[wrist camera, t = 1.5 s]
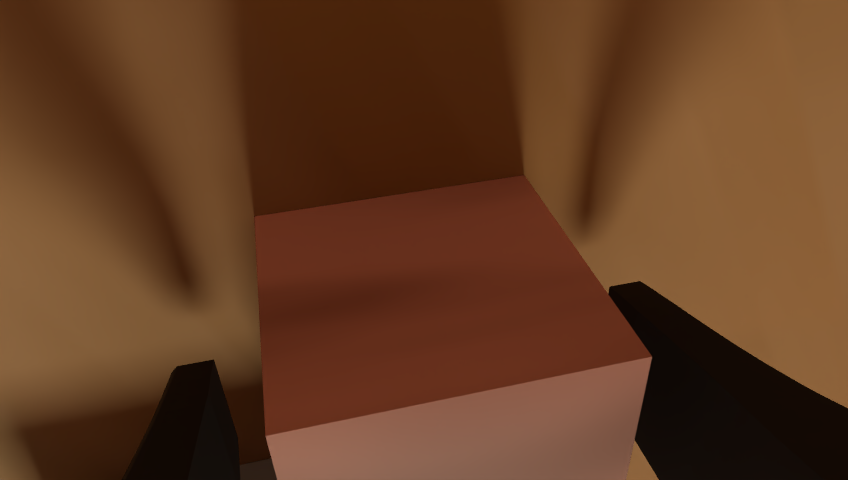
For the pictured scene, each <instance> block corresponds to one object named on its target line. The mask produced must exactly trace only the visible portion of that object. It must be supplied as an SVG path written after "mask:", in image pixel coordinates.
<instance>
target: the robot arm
mask: <svg viewBox="0 0 848 480" xmlns="http://www.w3.org/2000/svg"><path fill="white" fill-rule="evenodd" d="M608 295H609V296H610V298H611V299H612V300H613V302H614V303H615V305H616V306H617V307H618V309H619V310H620V312H621V313H622V315H623V316H624V317H625V319H626V320H627V322H628V323H629V324H630V326H631V327H632V329H633V330H634V332H635V333H636V334H637V336H638V337H639V339H640V340H641V341H642V343H643V344H644V346H645V347H646V349H647V350H648V351H649V353H650V354H651V356H652V360H651V364H650V369H649V374H648V379H647V383H646V388H645V393H644V397H643V402H642V407H641V411H640V416H639V421H638V425H637V430H636V435H635V441H636V443H637V444H638V446H639V448H640V449H641V451H642V453H643V454H644V456H645V457H646V459H647V461H648V462H649V464H650V466H651V467H652V469H653V471H654V472H655V474H656V475H657V477H658V479H659V480H848V408H846V407H844V406H842V405H840V404H838V403H836V402H834V401H832V400H830V399H828V398H826V397H824V396H822V395H820V394H818V393H816V392H815V391H813V390H811V389H809V388H807V387H805V386H804V385H802V384H800V383H798V382H796V381H795V380H793V379H791V378H790V377H788V376H786V375H784V374H783V373H781V372H779V371H778V370H776V369H774V368H772V367H771V366H769V365H767V364H766V363H764V362H762V361H761V360H759V359H757V358H756V357H754V356H753V355H751V354H749V353H748V352H746V351H745V350H743V349H741V348H740V347H738V346H737V345H735V344H734V343H732V342H730V341H729V340H727V339H726V338H724V337H723V336H721V335H720V334H718V333H717V332H715V331H714V330H712V329H711V328H709V327H708V326H706V325H705V324H703V323H702V322H700V321H699V320H697V319H696V318H694V317H693V316H691V315H690V314H688V313H687V312H685V311H684V310H683V309H681V308H680V307H678V306H677V305H675V304H674V303H672V302H671V301H669V300H668V299H666V298H665V297H663V296H662V295H660V294H659V293H658V292H656V291H654V290H653V289H651V288H650V287H648V286H647V285H645V284H644V283H642V282H640V281H638V282H633V283H627V284H622V285H616V286H611V287H609V294H608ZM122 480H240V464H239V449H238V437H237V434H236V431H235V427H234V424H233V421H232V417H231V414H230V411H229V408H228V404H227V401H226V398H225V395H224V391H223V388H222V385H221V382H220V378H219V375H218V372H217V369H216V365H215V362H214V360H209V361H203V362H198V363H193V364H187V365H182V366H177V367H176V368H175V369H174V370H173V372H172V373H171V376H170V378H169V381H168V383H167V386H166V388H165V391H164V393H163V395H162V398H161V400H160V402H159V405H158V407H157V409H156V412H155V414H154V416H153V418H152V420H151V423H150V425H149V427H148V429H147V431H146V433H145V435H144V438H143V440H142V442H141V444H140V446H139V447H138V449H137V451H136V453H135V455H134V457H133V459H132V461H131V463H130V465H129V467H128V469H127V471H126V473H125V475H124V477H123V479H122Z"/></svg>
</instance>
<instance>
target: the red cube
mask: <svg viewBox="0 0 848 480" xmlns="http://www.w3.org/2000/svg"><path fill="white" fill-rule="evenodd" d="M254 219H255V239H256V258H257V278H258V298H259V317H260V337H261V357H262V377H263V396H264V416H265V436H266V440H267V443H268V447H269V451H270V455H271V458H272V462H273V466H274V470H275V473H276V477H277V480H626V477H627V472H628V468H629V463H630V458H631V454H632V449H633V444H634V439H635V435H636V430H637V425H638V421H639V416H640V411H641V407H642V402H643V397H644V393H645V388H646V383H647V379H648V374H649V369H650V364H651V360H652V356H651V354H650V353H649V351H648V350H647V349H646V347H645V346H644V344H643V343H642V341H641V340H640V339H639V337H638V336H637V334H636V333H635V332H634V330H633V329H632V327H631V326H630V324H629V323H628V322H627V320H626V319H625V317H624V316H623V315H622V313H621V312H620V310H619V309H618V307H617V306H616V305H615V303H614V302H613V300H612V299H611V298H610V296H609V295H608V293H607V292H606V290H605V289H604V288H603V286H602V285H601V283H600V282H599V281H598V279H597V278H596V276H595V275H594V273H593V272H592V271H591V269H590V268H589V266H588V265H587V264H586V262H585V261H584V259H583V258H582V256H581V255H580V254H579V252H578V251H577V249H576V248H575V247H574V245H573V244H572V242H571V241H570V240H569V238H568V237H567V235H566V234H565V232H564V231H563V230H562V228H561V227H560V225H559V224H558V223H557V221H556V220H555V218H554V217H553V215H552V214H551V213H550V211H549V210H548V208H547V207H546V206H545V204H544V203H543V201H542V200H541V198H540V197H539V196H538V194H537V193H536V191H535V190H534V189H533V187H532V186H531V184H530V183H529V181H528V180H527V179H526V177H525V176H524V175H521V176H514V177H508V178H501V179H495V180H488V181H482V182H475V183H469V184H462V185H456V186H449V187H443V188H436V189H430V190H423V191H417V192H410V193H404V194H397V195H391V196H384V197H378V198H371V199H365V200H358V201H352V202H345V203H339V204H332V205H326V206H319V207H313V208H306V209H300V210H293V211H287V212H280V213H274V214H267V215H261V216H254Z"/></svg>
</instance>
